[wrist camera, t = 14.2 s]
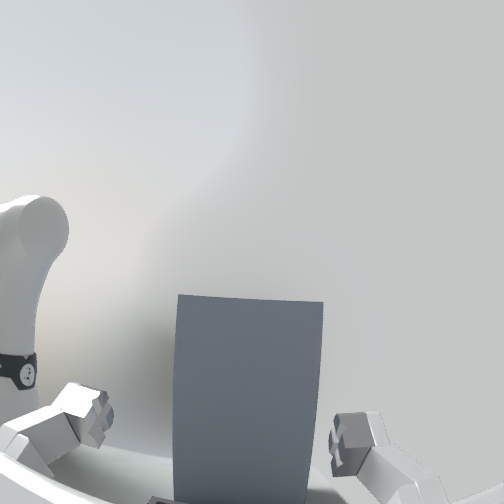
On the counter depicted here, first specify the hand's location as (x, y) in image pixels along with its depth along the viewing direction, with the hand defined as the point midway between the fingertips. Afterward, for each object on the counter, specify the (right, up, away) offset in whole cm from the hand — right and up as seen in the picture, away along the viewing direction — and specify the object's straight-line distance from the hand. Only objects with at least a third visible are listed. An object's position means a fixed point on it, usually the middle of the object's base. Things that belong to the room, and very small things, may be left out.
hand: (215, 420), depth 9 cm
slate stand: (0, -25, +19) cm, 32 cm away
